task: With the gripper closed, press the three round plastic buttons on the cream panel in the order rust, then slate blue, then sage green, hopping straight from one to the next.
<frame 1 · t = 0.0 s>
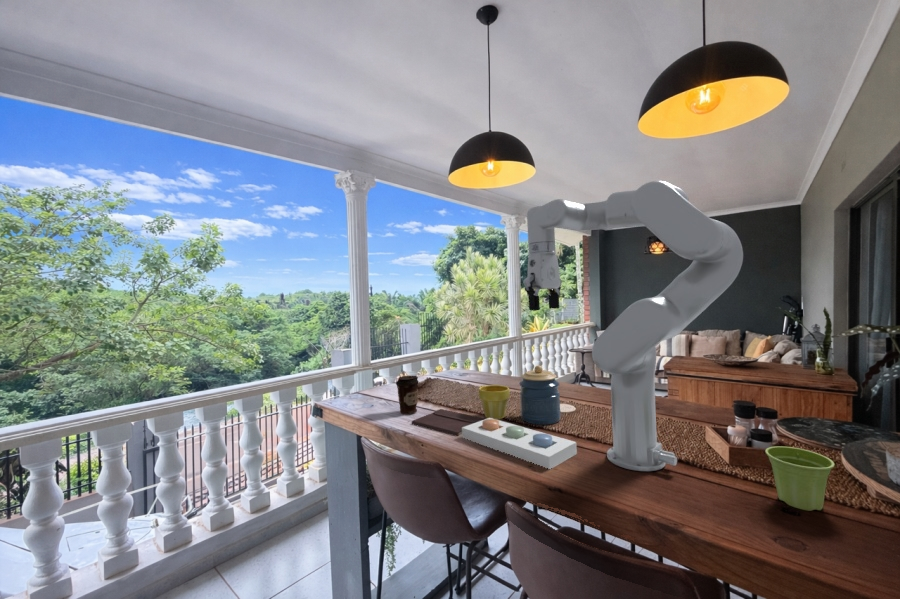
hand: (544, 309, 108), 37 cm above the table, tool pointing down, fingers open, 9 cm apart
sage button: (515, 434, 103), point 3 cm above the table, slide at 0.0 cm
rust button: (490, 426, 109), point 3 cm above the table, slide at 0.0 cm
slate button: (542, 442, 96), point 3 cm above the table, slide at 0.0 cm
button panel: (515, 445, 103), on the table
plant pot 2: (800, 503, 70), on the table
plant pot: (495, 417, 128), on the table
notebook: (448, 425, 124), on the table
coffee cup: (409, 413, 138), on the table
canister: (540, 419, 124), on the table
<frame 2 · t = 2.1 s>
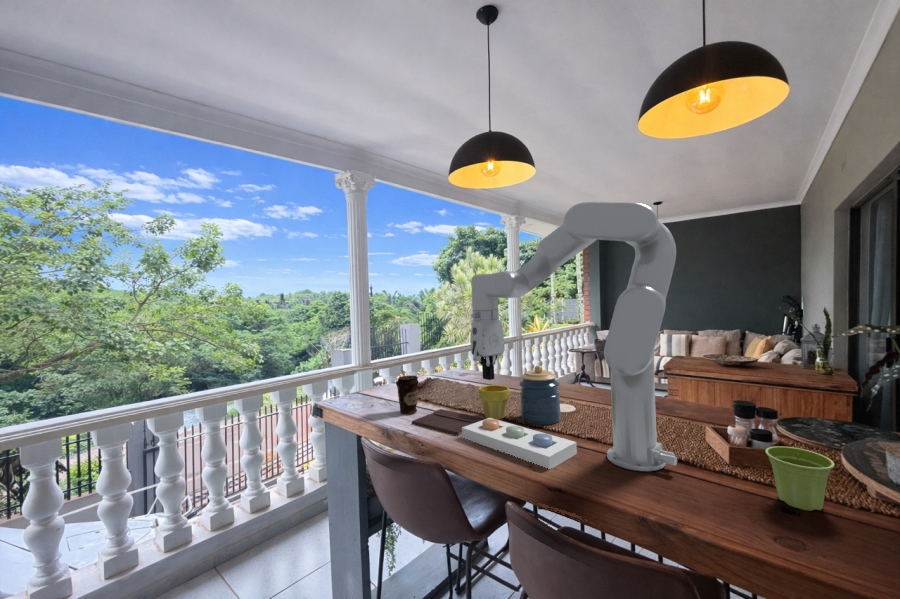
hand: (488, 378, 109), 17 cm above the table, tool pointing down, fingers closed
nothing on the table moved.
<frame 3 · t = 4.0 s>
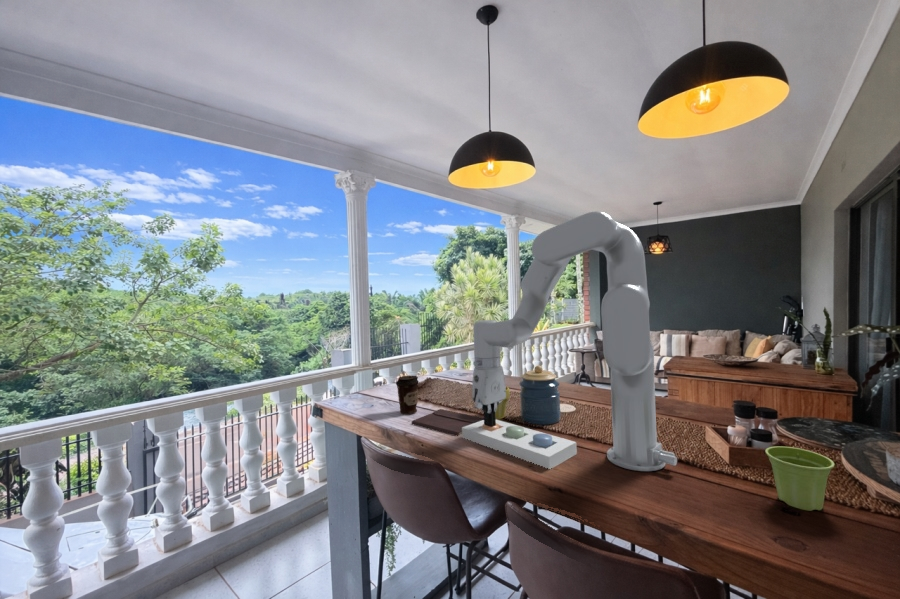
hand: (489, 425, 110), 4 cm above the table, tool pointing down, fingers closed
rust button: (490, 430, 109), point 2 cm above the table, slide at 1.0 cm, touching gripper
everything else where it was.
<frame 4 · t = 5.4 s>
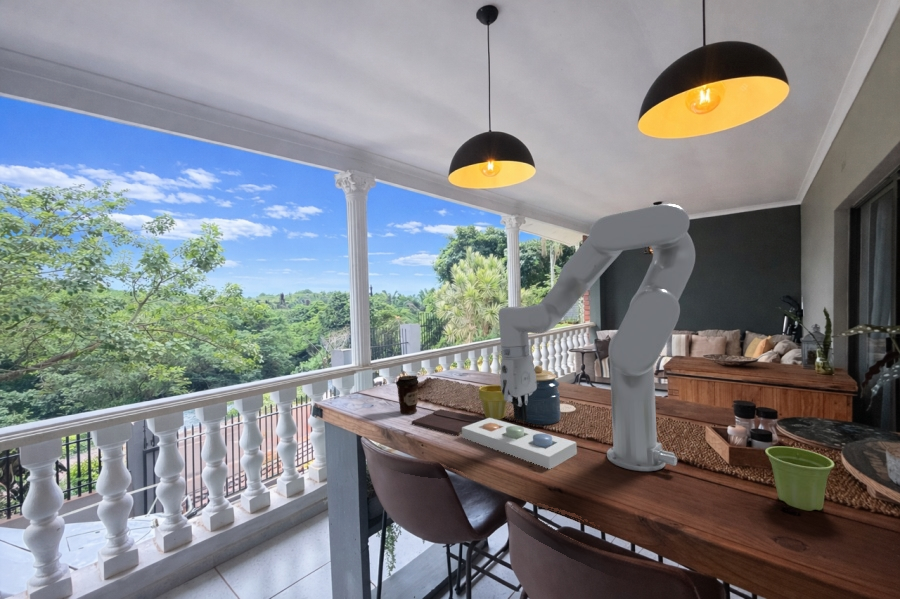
hand: (520, 419, 102), 7 cm above the table, tool pointing down, fingers closed
rust button: (491, 431, 109), point 2 cm above the table, slide at 1.2 cm
everything else where it was.
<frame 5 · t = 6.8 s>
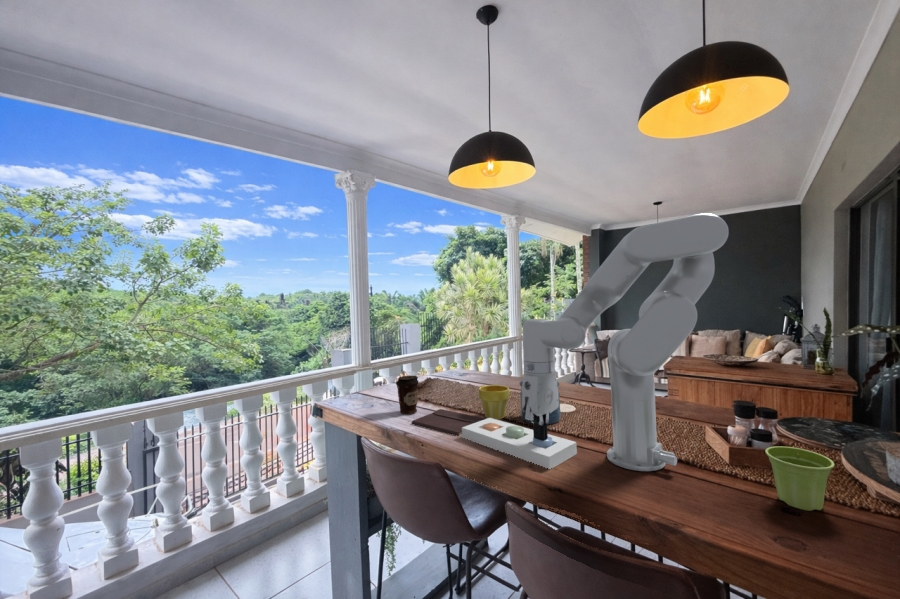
hand: (540, 438, 96), 4 cm above the table, tool pointing down, fingers closed
slate button: (542, 444, 96), point 3 cm above the table, slide at 0.5 cm, touching gripper
everything else where it was.
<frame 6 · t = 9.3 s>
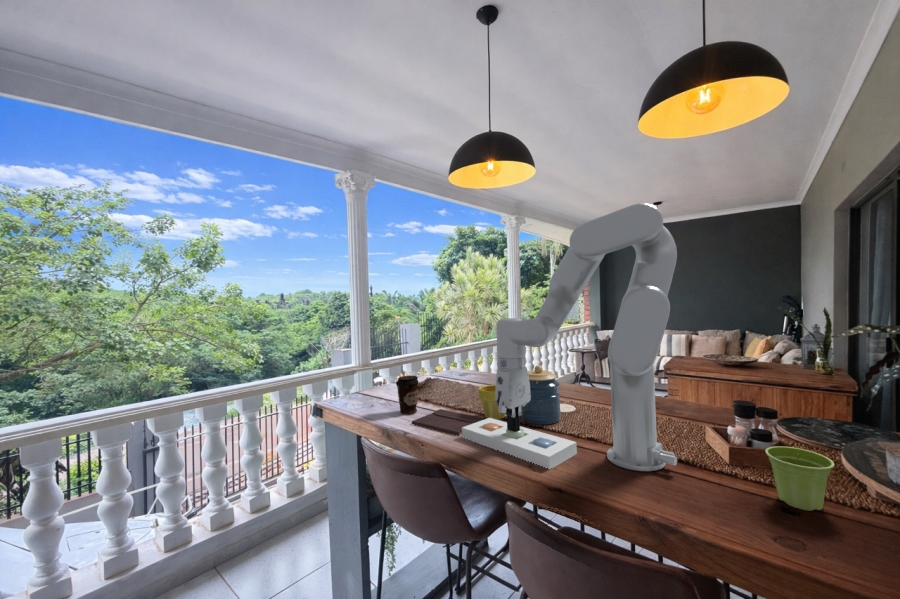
hand: (513, 429, 103), 4 cm above the table, tool pointing down, fingers closed
sage button: (515, 435, 103), point 3 cm above the table, slide at 0.4 cm, touching gripper
slate button: (542, 447, 96), point 2 cm above the table, slide at 1.3 cm
everything else where it was.
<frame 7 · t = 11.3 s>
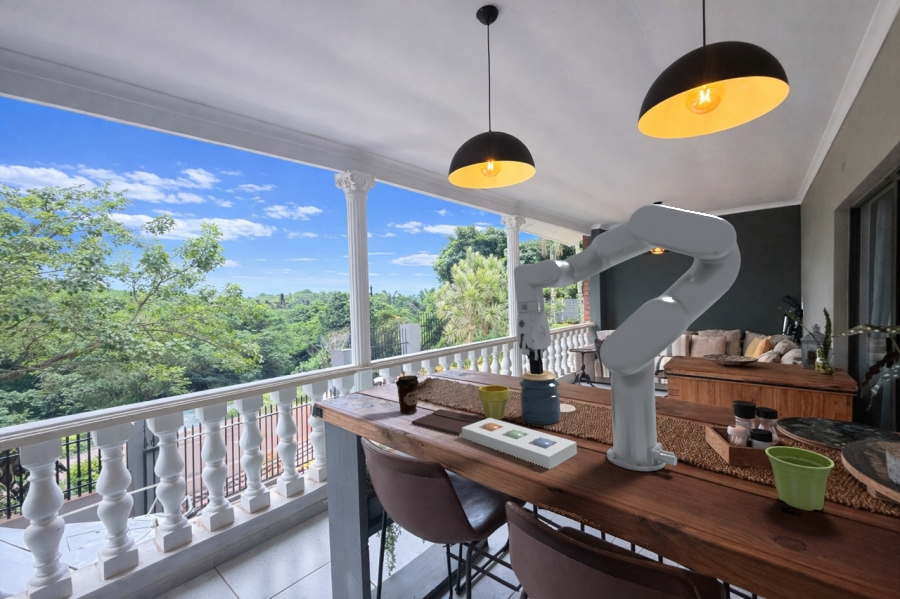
hand: (536, 373, 105), 19 cm above the table, tool pointing down, fingers closed
sage button: (515, 438, 103), point 2 cm above the table, slide at 1.2 cm
everything else where it was.
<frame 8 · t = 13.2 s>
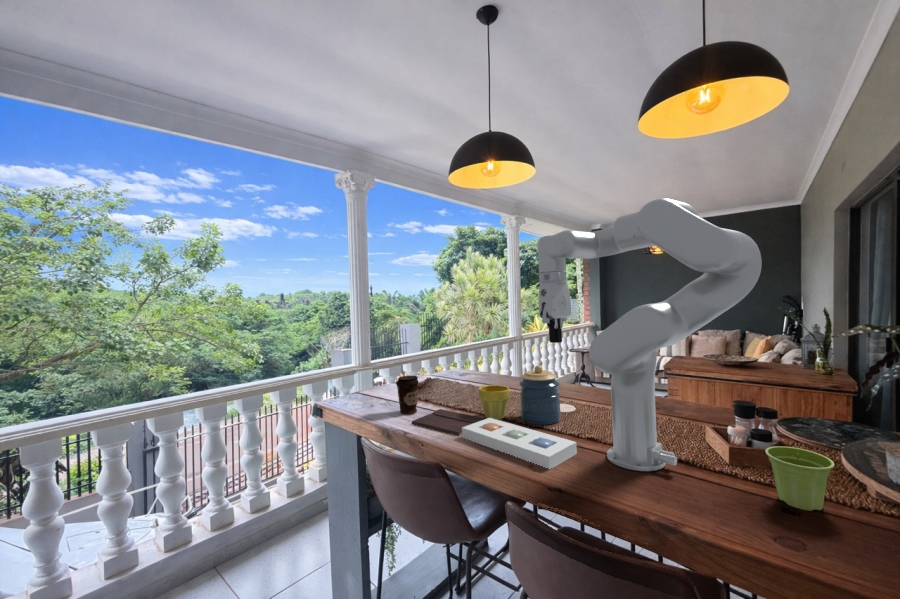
hand: (555, 342, 108), 27 cm above the table, tool pointing down, fingers closed
nothing on the table moved.
at the end: rust button slide at 1.2 cm; slate button slide at 1.3 cm; sage button slide at 1.2 cm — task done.
